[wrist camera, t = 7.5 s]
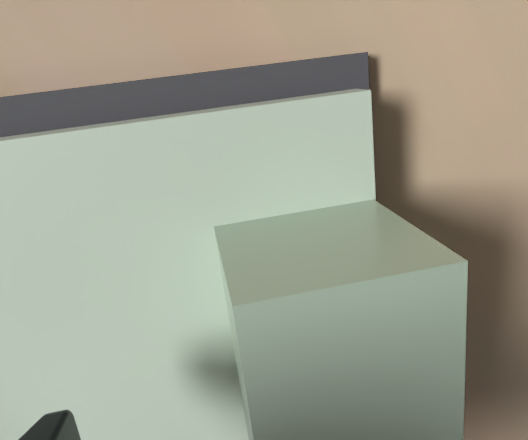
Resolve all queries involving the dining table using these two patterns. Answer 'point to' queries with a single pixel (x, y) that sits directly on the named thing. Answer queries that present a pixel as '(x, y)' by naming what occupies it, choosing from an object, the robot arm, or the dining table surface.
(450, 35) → the dining table surface
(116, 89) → the mat
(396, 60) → the dining table surface
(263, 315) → the lid
